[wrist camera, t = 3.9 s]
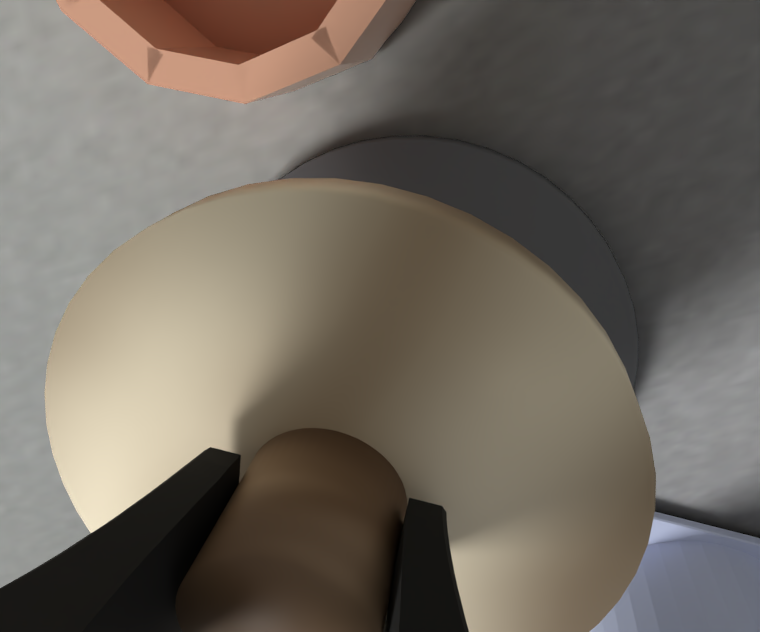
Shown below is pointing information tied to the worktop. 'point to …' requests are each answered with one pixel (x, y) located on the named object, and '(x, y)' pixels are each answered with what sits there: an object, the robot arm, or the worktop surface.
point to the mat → (499, 214)
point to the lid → (356, 408)
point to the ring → (238, 40)
